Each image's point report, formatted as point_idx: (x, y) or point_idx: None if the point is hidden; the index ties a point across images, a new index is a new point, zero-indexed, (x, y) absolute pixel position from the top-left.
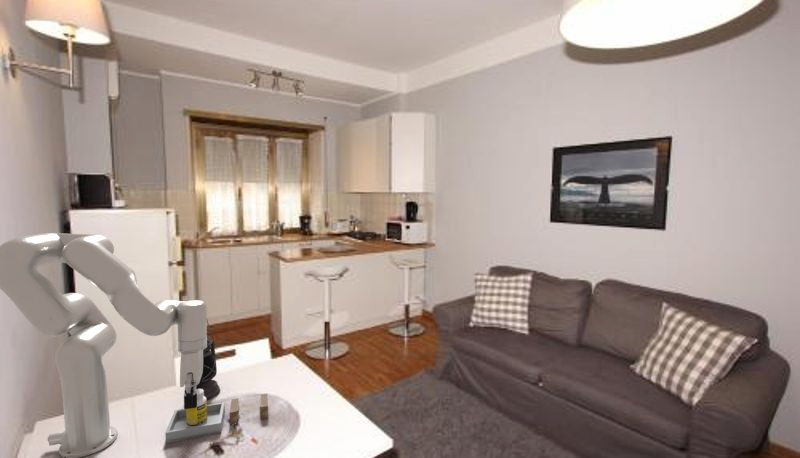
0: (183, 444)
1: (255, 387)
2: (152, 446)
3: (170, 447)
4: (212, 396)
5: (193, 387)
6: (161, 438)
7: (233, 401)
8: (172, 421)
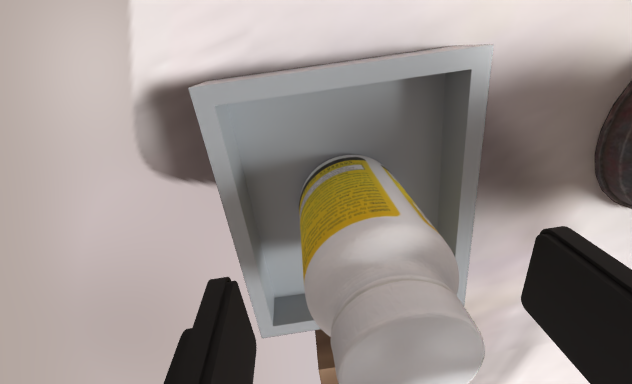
0: (191, 177)
1: None
2: (181, 3)
3: (168, 120)
4: (613, 191)
5: (573, 286)
6: (261, 31)
7: None
8: (332, 84)
